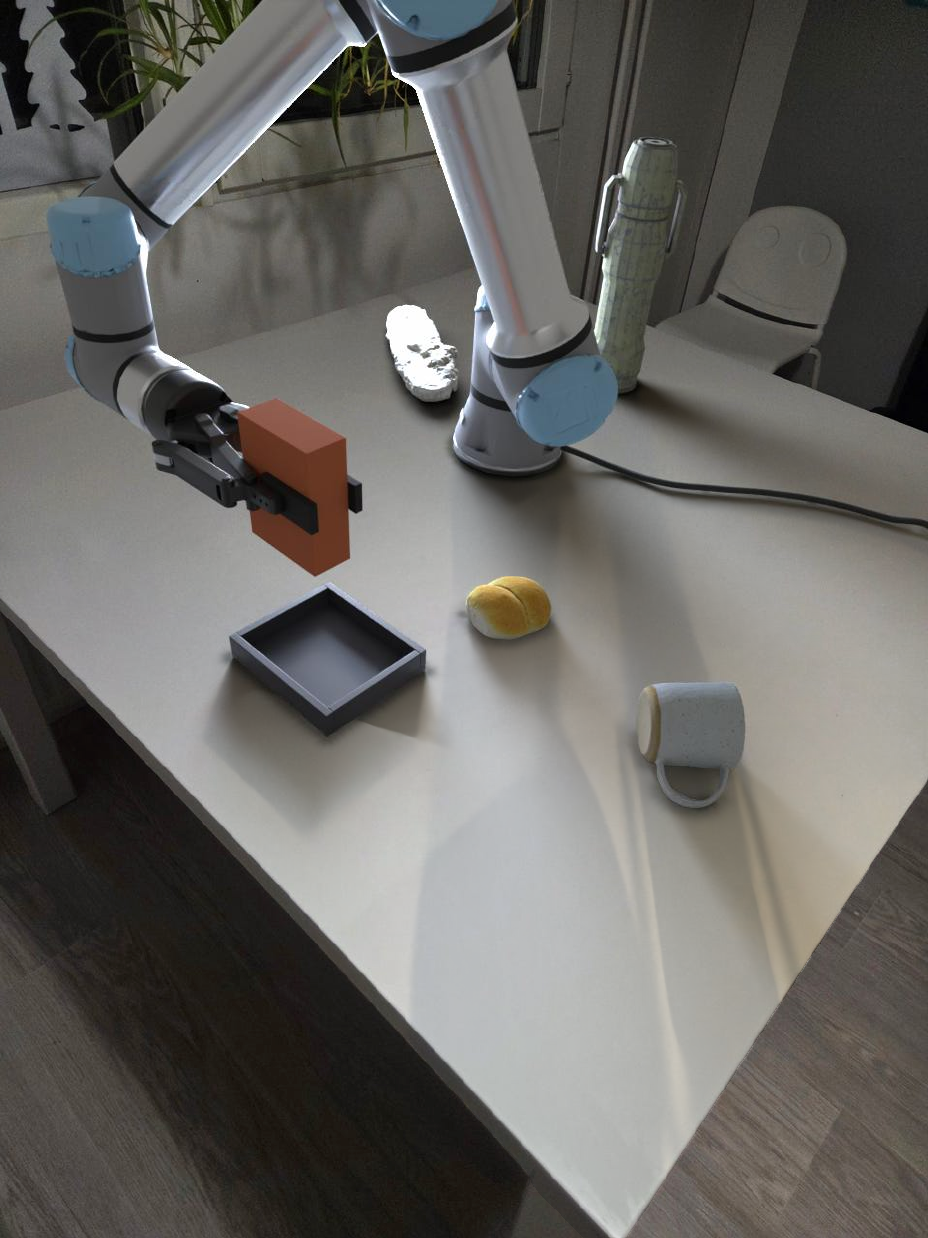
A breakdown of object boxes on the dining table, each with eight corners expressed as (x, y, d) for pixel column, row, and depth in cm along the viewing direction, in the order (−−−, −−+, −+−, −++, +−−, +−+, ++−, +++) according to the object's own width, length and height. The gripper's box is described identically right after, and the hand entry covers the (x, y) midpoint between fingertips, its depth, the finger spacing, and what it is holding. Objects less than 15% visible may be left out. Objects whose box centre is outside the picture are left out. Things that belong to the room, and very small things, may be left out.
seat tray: (330, 601, 89) (329, 581, 87) (425, 670, 82) (426, 649, 80) (232, 656, 82) (228, 635, 80) (327, 737, 75) (326, 716, 73)
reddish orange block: (287, 515, 78) (276, 397, 70) (350, 558, 73) (346, 437, 65) (252, 532, 75) (236, 411, 67) (314, 577, 71) (306, 454, 63)
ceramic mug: (628, 718, 79) (644, 661, 73) (712, 721, 79) (734, 665, 74) (647, 812, 71) (667, 755, 66) (740, 815, 71) (768, 759, 66)
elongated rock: (431, 325, 152) (378, 329, 150) (431, 296, 149) (376, 300, 147) (470, 403, 125) (405, 408, 124) (470, 369, 122) (404, 374, 120)
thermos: (652, 393, 133) (708, 150, 110) (581, 393, 132) (623, 146, 109) (637, 370, 140) (687, 135, 117) (569, 369, 138) (606, 131, 115)
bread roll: (563, 624, 89) (569, 595, 86) (495, 652, 85) (499, 623, 82) (518, 582, 94) (522, 553, 91) (452, 606, 90) (454, 577, 87)
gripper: (255, 415, 86) (411, 509, 75) (102, 471, 76) (255, 588, 65) (247, 346, 81) (413, 434, 70) (83, 395, 71) (244, 508, 60)
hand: (336, 508), depth 67 cm, fingers closed on reddish orange block, 4 cm apart
